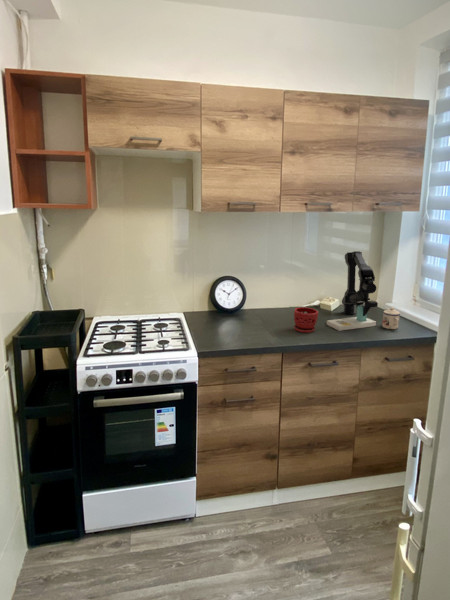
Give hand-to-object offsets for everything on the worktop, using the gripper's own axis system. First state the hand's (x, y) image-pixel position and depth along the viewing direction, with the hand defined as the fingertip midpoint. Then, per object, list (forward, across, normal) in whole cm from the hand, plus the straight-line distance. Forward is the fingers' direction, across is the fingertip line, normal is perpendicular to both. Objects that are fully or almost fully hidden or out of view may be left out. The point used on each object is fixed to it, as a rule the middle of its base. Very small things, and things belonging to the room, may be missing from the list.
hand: (361, 315), depth 249 cm
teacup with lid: (+6, +12, +12) cm, 18 cm away
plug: (+4, 0, 0) cm, 4 cm away
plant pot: (+6, -1, -38) cm, 38 cm away
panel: (+6, 0, -7) cm, 9 cm away
